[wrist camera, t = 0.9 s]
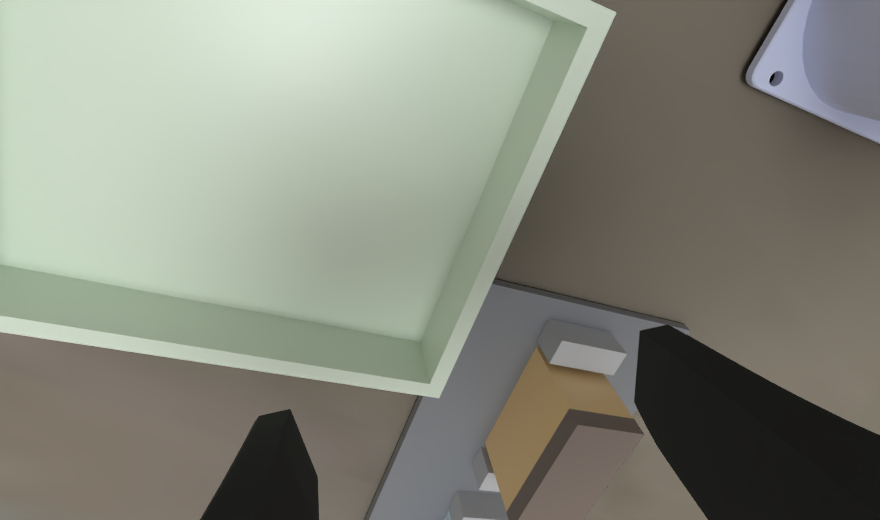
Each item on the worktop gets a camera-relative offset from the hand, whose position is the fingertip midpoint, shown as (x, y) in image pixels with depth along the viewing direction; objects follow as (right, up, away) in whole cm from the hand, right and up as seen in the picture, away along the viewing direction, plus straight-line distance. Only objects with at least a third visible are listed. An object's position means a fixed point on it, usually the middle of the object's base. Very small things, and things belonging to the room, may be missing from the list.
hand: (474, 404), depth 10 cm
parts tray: (-6, +7, +6) cm, 11 cm away
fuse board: (+2, -8, +16) cm, 18 cm away
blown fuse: (+4, -4, +13) cm, 14 cm away
